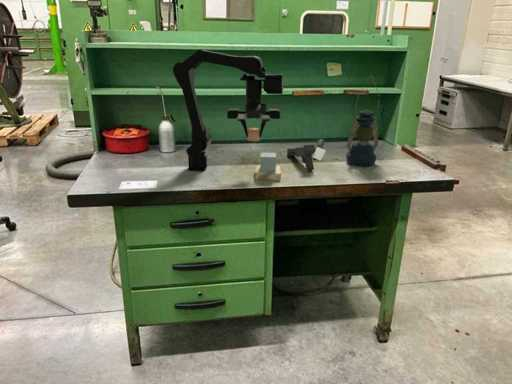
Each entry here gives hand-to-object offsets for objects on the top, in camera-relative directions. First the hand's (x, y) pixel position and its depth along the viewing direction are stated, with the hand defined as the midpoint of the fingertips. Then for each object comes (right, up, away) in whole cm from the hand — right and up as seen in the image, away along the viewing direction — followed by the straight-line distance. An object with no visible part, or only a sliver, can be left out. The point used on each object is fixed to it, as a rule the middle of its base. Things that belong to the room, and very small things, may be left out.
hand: (253, 137), depth 154 cm
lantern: (+44, -8, +18) cm, 48 cm away
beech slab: (+5, -14, +1) cm, 15 cm away
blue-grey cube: (+5, -12, 0) cm, 13 cm away
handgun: (+19, -9, +17) cm, 26 cm away
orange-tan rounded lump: (0, -1, 0) cm, 1 cm away
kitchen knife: (+30, -3, +33) cm, 45 cm away
